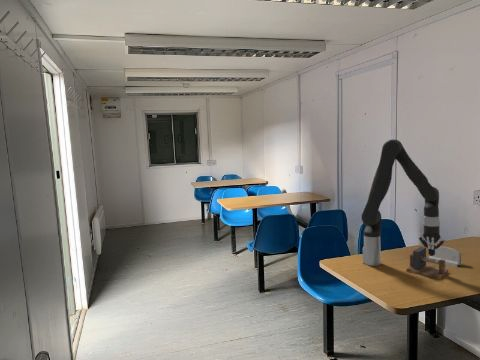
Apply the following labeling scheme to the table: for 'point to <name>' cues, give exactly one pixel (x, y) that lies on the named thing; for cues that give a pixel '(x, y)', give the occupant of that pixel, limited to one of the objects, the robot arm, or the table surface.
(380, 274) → the table surface
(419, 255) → the collar
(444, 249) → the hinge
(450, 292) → the table surface
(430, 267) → the pipe stand
